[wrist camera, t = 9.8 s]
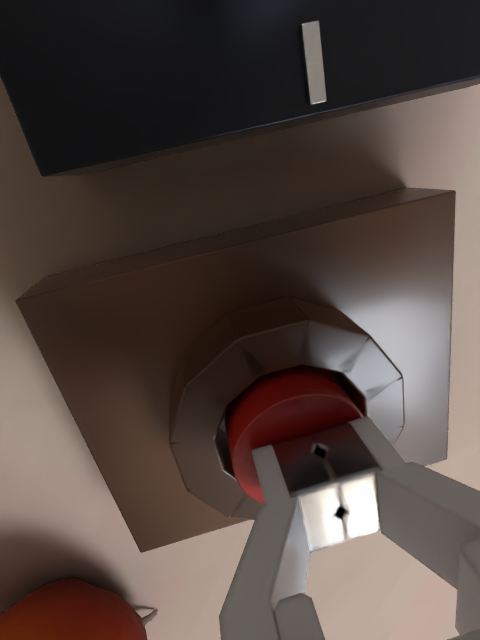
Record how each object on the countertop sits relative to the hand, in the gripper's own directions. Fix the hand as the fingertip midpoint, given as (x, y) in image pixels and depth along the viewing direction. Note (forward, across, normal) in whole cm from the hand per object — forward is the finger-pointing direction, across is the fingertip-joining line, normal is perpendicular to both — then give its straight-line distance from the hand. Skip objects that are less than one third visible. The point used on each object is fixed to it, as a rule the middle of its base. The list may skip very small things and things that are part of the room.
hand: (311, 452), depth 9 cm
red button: (+2, 0, 0) cm, 2 cm away
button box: (+5, 0, 0) cm, 5 cm away
